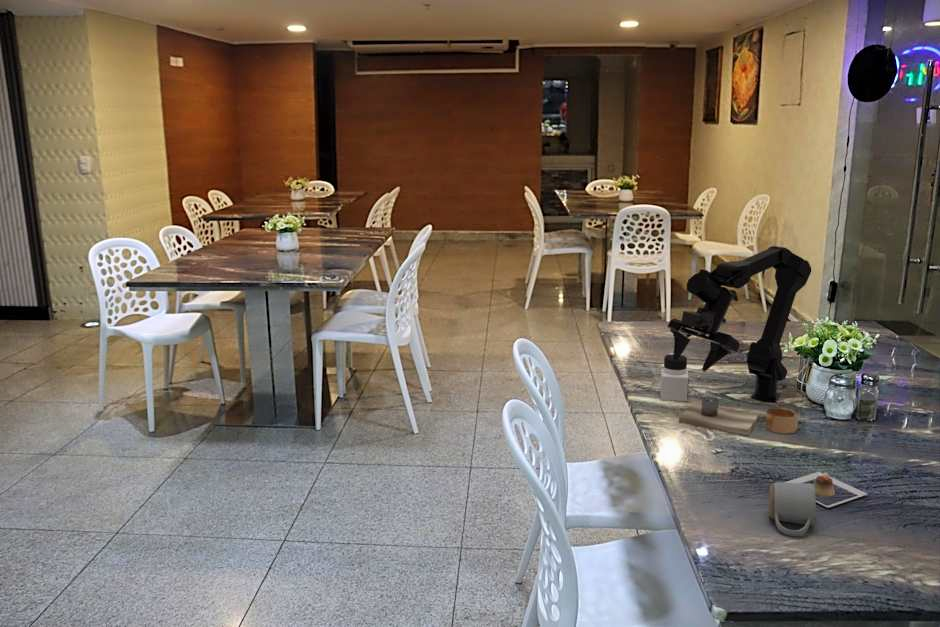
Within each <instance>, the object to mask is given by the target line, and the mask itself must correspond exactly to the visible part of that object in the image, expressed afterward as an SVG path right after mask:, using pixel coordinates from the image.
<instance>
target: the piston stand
mask: <svg viewBox="0 0 940 627" xmlns="http://www.w3.org/2000/svg"><path fill="white" fill-rule="evenodd" d="M701 409H702V403H697V402H692V403H691V404H690V405H689V406H688V407H687V408H686V409H685V410H684V411H683V412H682V413H681V415H679V417H678V423H679V424H683V423H684V425H688V424H689V426H695V427H699V426H700V428H705V429H710V430H711V429H712V430H715V431H721V432H726V433H730V432H731V434H736V435H741V434H742V436H746V435H747V436H749V435H750V433H751V432H752V430H753V429H754V427H755V426H756V424H757V423H758V421H759V419H760V418H759V417H760V414H758V413H755V412H748V411H744V410H743V411H742V410H738V409H737V410H736V409H731V408H726V407H721V406H720V407H719V406H718V414H717V416H715V417H708V416H704V415H702V414H701Z"/></svg>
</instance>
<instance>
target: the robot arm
mask: <svg viewBox="0 0 940 627" xmlns="http://www.w3.org/2000/svg"><path fill="white" fill-rule="evenodd" d="M771 268H773V269H774V270H775V274H774V279H775V282H776V287H777V288H776V292H775V294H774V297H773V301H772V302H771V303H772V304H771V307H770V309H769V313H768V316H767V319H766V323H765V325H764V328H763V331H762V334H761V337H760V339H758V340H757V341H756V342H754V341H752V342H751V343H750V345H749V349H748V352H747V353H746V364H747V370H748V373H749V374H750V375H755V383H754V384H755V385H754V392H753V393H752V394H751V396H750V398H751V399H753V398H755V400H759V399H760V401H765V400H767V401H766V402H771V401H772V403H776V402H777V401H778V399H779V397H780V395H781V394H780V393H779V392H778V384H779V381H784V379H786V378H787V375H788V369H787V368H786V367H785V365H784V364H783V363H782V360H783V359H782V358H783V351H782V348H781V341H782V337H783V336H784V332H785V328H786V325H787V323H788V319H789V316H790V313H791V311H792V307H793V303H794V300H795V298H796V295H797V293H798V292H799V291H800V290H802V288H804V287H805V286H806V285H807V282H808V281H809V278H810V275H811V273H812V266H811V265H810V263H809V261H808V260H806V259H804V258H802V257H801V256H799V255H797V254H795V253H793V252H792V251H791V250H790V249H788V248H787V247H783V246H777V245H772V246H769V247H768V248H767V249H764V250H762V251H760V252H757V253H756V254H754V255H751V256H749V257H746V258H743V259H742V260H736V261H735V260H732V261H730V260H729V261H726V262H725V261H724V262H721V263H719V264H717V266H716V268H714V269H713V270H711V271H709V270H708V269H703V268H701V269H700V270H699V272H697V273H695V274H693V275H692V276H691V277H690V278H689V279H688V280H687V282H686V290H687V292H688V293H689V294H691V295H692V296H694V297H695V298H697V300H699V301H701V302H702V303H703V304H704V305H703V306H702V307H701V306H699V307H698V308H697V310H696V311H692V310H691V311H689V310H683V311H682V315H681V320H680V319H677V318H672V319H670V320H669V322H668V324H667V326H666V327H667V328H668V329H670V330H669V331H670V333H672V336H673V339H674V340H673V341H674V347H673V354H674V356H673V360H674V361H677V360H678V359H679V357H680V356H681V355H683V352H684V351H685V350H686V348H687V347H688V345H689V343H690V342H691V339H690V337H692V336H694V337H698V338H701V339H704V340H706V341H710V350H709V352H708V354H707V357H706V358H705V360H704V363H703V365H702V369H701V370H702V371H703V372H707V371H708V369H710V368H712V366H714V365H715V364H716V363H717V362H719V361H720V360H721V359H723V358H724V357H726V356H727V355H732V353H736V354H737V353H738V350H739V348H740V346H741V345H740V341H739V340H737V339H736V338H735V337H734V336H732V335H730V334H728V333H724V332H721V331H719V330H720V328H721V325H722V323H723V324H726V322H727V319H726V318H725V317H726V314H727V311H728V310H729V307H730V305H731V304H732V301H733V302H738V301H739V297H738V294H737V291H736V290H734V289H741V288H743V287H744V286H746V285H747V284H748V283H750V281H751V279H752V277H754V276H755V275H758V274H760V273H762V272H764V271H766V270H768V269H771ZM727 287H728V288H733V289H728V288H727Z"/></svg>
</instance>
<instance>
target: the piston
mask: <svg viewBox="0 0 940 627" xmlns="http://www.w3.org/2000/svg"><path fill="white" fill-rule="evenodd" d="M701 404H702V409H701V414H702V415H704V416H708V417H715V416H717V414H718V407H719V398H717V397H715V396H703V397H702V398H701Z"/></svg>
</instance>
